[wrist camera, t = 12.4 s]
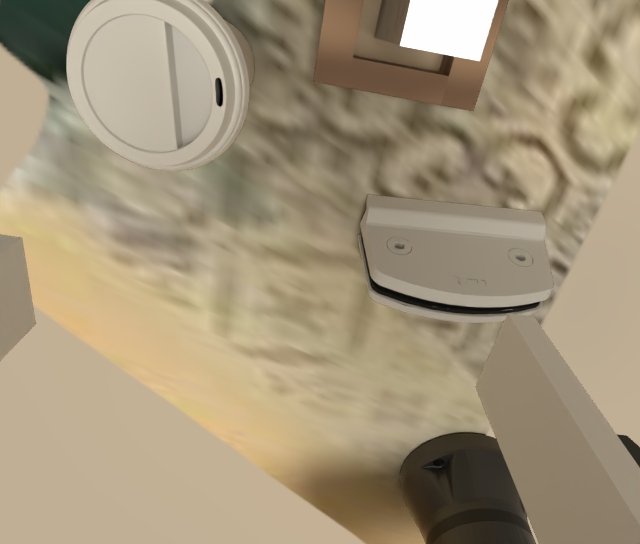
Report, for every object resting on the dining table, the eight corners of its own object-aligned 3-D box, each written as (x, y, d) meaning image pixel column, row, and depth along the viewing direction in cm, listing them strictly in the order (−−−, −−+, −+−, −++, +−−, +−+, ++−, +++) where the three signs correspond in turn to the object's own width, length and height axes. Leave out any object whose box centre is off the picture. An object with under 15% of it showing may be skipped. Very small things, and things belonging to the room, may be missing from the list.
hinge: (545, 211, 41) (582, 298, 35) (523, 248, 45) (553, 333, 38) (363, 193, 41) (365, 278, 34) (355, 232, 44) (356, 315, 38)
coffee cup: (248, 145, 39) (208, 208, 26) (138, 94, 37) (34, 135, 24) (293, 31, 35) (272, 36, 22) (171, -33, 33) (67, -69, 20)
